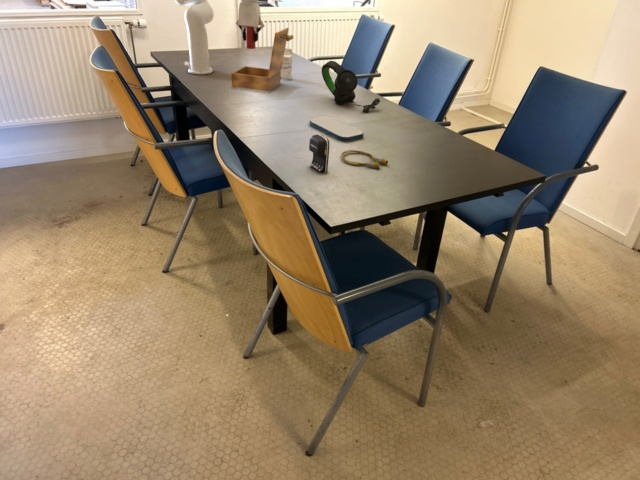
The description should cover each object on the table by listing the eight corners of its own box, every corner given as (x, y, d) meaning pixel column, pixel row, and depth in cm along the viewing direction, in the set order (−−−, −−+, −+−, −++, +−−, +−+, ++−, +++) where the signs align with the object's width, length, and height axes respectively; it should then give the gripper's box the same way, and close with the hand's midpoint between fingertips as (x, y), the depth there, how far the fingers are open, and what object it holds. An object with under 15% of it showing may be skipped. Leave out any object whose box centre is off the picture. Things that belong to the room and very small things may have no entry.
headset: (356, 129, 220) (316, 85, 227) (379, 112, 223) (339, 70, 230) (359, 106, 203) (316, 59, 210) (384, 88, 206) (341, 43, 213)
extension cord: (361, 173, 160) (361, 167, 159) (334, 156, 171) (334, 150, 170) (390, 166, 165) (391, 161, 164) (362, 150, 177) (363, 145, 175)
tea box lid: (275, 32, 216) (286, 36, 215) (287, 27, 228) (298, 30, 228) (267, 76, 227) (278, 80, 226) (279, 69, 240) (290, 72, 239)
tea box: (231, 88, 234) (231, 73, 231) (245, 80, 247) (244, 66, 244) (268, 93, 230) (268, 78, 227) (280, 85, 243) (280, 70, 240)
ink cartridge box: (273, 79, 251) (273, 49, 243) (275, 77, 255) (275, 47, 248) (290, 80, 251) (290, 50, 243) (291, 78, 255) (292, 48, 247)
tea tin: (243, 48, 242) (243, 24, 236) (248, 46, 246) (247, 22, 240) (253, 49, 240) (252, 25, 235) (257, 47, 245) (256, 23, 239)
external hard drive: (306, 124, 197) (306, 119, 196) (328, 119, 203) (329, 115, 202) (343, 143, 181) (343, 138, 180) (366, 138, 187) (367, 133, 186)
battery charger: (306, 167, 162) (308, 133, 155) (316, 165, 163) (318, 132, 157) (318, 175, 157) (320, 141, 151) (328, 173, 159) (330, 139, 152)
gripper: (229, -1, 230) (231, 40, 240) (263, 2, 227) (263, 44, 236) (236, -3, 236) (237, 37, 246) (269, 0, 233) (269, 41, 243)
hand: (250, 40), depth 241 cm, fingers closed on tea tin, 4 cm apart
